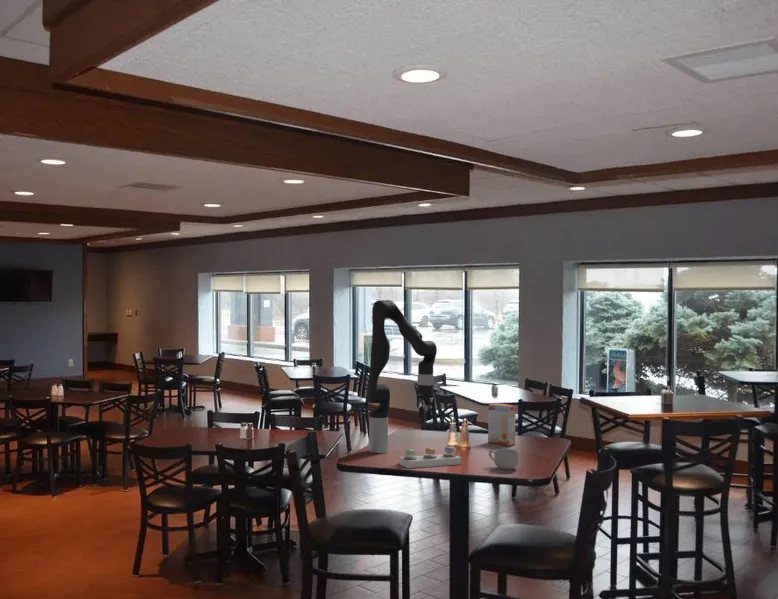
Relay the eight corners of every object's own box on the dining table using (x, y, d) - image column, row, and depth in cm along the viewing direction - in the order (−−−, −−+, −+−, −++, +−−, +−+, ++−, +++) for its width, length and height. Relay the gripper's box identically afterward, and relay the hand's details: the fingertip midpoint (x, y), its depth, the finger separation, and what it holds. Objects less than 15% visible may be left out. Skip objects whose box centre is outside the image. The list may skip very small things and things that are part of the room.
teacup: (523, 469, 337) (523, 451, 337) (508, 472, 330) (508, 454, 330) (498, 464, 347) (498, 446, 347) (483, 467, 339) (483, 449, 340)
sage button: (403, 453, 342) (403, 449, 342) (412, 453, 343) (412, 448, 343) (407, 455, 338) (407, 451, 338) (416, 455, 339) (416, 450, 339)
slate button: (443, 451, 349) (443, 446, 349) (451, 450, 351) (451, 446, 351) (447, 452, 345) (447, 448, 345) (455, 452, 347) (456, 448, 347)
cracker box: (515, 445, 396) (516, 405, 396) (508, 446, 392) (509, 406, 392) (494, 441, 406) (495, 402, 406) (487, 442, 402) (488, 403, 402)
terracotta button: (423, 452, 345) (423, 448, 345) (432, 451, 347) (432, 447, 347) (427, 454, 341) (427, 449, 341) (436, 453, 343) (436, 449, 343)
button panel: (398, 463, 344) (398, 456, 344) (451, 460, 354) (451, 452, 354) (407, 468, 334) (407, 460, 334) (461, 464, 345) (461, 456, 345)
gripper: (411, 382, 355) (411, 416, 355) (424, 385, 342) (423, 421, 342) (426, 381, 358) (425, 416, 358) (439, 385, 345) (438, 420, 345)
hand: (424, 418), depth 350 cm, fingers open, 8 cm apart
